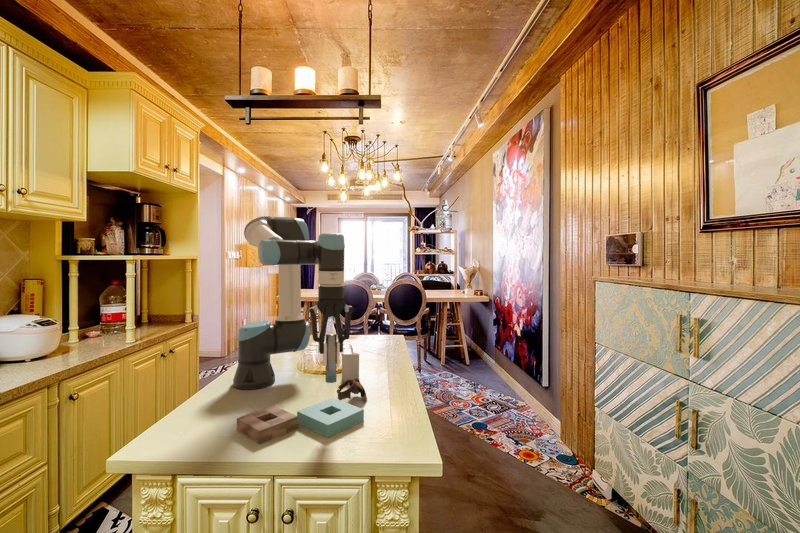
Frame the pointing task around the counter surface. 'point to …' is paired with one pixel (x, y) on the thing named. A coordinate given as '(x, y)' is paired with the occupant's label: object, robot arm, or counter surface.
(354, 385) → the brown ring with knob
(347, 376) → the white box
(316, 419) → the dock socket
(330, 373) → the pin
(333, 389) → the counter surface
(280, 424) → the pin mount
